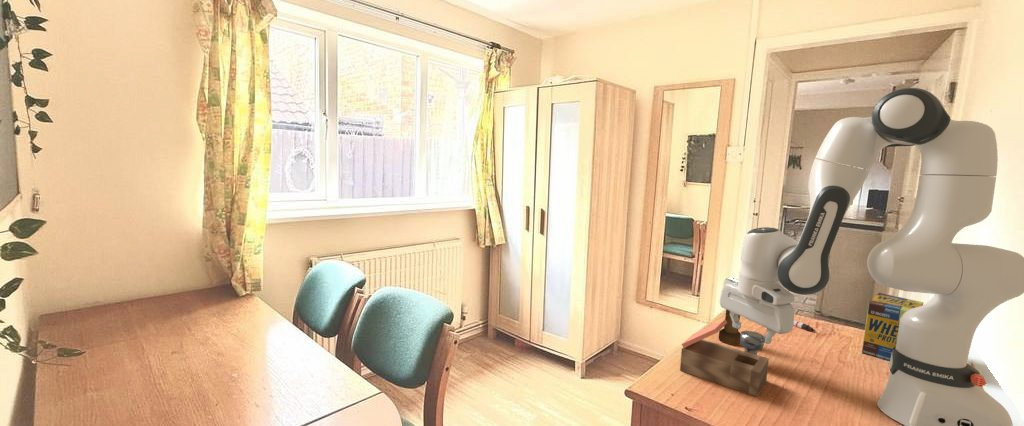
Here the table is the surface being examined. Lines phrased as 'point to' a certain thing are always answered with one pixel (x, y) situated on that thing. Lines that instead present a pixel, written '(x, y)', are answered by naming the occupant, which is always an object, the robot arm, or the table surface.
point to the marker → (802, 326)
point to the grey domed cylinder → (751, 341)
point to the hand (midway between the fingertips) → (750, 335)
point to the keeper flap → (705, 333)
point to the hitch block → (725, 366)
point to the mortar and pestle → (730, 332)
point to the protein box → (884, 324)
